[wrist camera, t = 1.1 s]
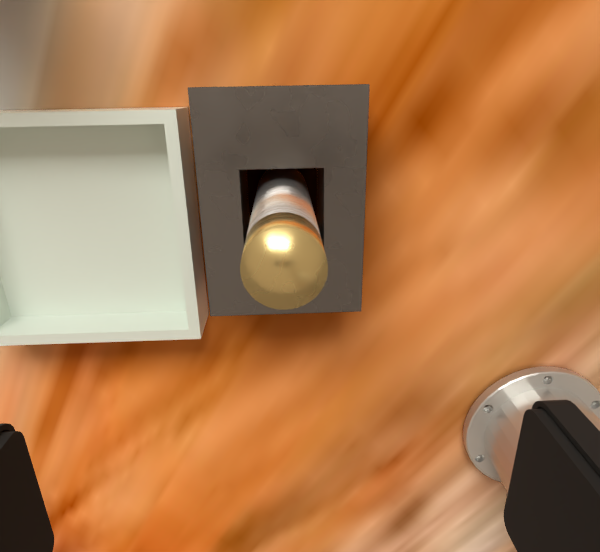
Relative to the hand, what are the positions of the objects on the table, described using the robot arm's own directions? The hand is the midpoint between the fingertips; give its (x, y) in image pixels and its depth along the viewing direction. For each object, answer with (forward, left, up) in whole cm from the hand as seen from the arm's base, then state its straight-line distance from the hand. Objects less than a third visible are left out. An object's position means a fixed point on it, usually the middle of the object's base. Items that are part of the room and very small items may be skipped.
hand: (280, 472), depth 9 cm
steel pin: (0, 0, -27) cm, 27 cm away
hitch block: (0, 0, -27) cm, 27 cm away
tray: (-2, +14, -27) cm, 30 cm away
